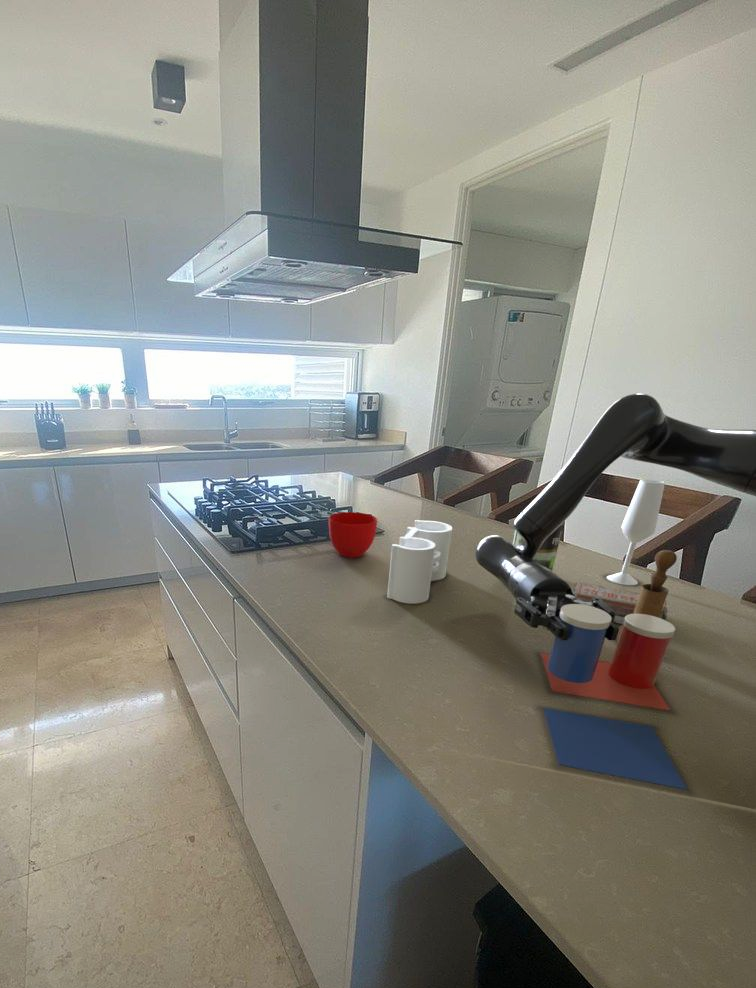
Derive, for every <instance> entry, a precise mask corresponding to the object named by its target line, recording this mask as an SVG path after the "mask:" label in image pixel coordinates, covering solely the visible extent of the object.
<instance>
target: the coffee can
mask: <svg viewBox="0 0 756 988" xmlns="http://www.w3.org/2000/svg"><path fill="white" fill-rule="evenodd" d="M564 526H565V521H564V522H563V523H562V524H561V525H560V526H559V527H558V528H557V529H556V530H555V531H554V532H553V533H552V534H551V535H550V536H549V537H548V538H547V539H546V540H545V541H544V542H543V544H542V545H541V547H540V549H539V550H538V552H537V553H536V555H535V556H534V558H533V560H535V561H536V562H537V563H539V564H540V565H542V566H544V567H546V568H548V569H549V570H550V571H552V572H553V570H554V565H555V563H556V557H557V553H558V550H559V544H560V541H561V537H562V534H563V533H562V532H563V528H564ZM520 540H521V536H520V534H519V533H518V532H517V531H516V530H515V529H514V534H513V539H512V544H513V545H515V546H516V547H517V546H518V545H519V543H520Z"/></svg>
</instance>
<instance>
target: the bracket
mask: <svg viewBox="0 0 756 988" xmlns="http://www.w3.org/2000/svg"><path fill="white" fill-rule="evenodd" d="M452 535H453V527H452V525H450V524H448V523H445V522H443V521H442V522H441V521H437V520H421V519H415V520H414V526H407V529H406V534H405V535H404V536H399V543H397V544H396V543H391V551H390V564H389V571H388V573H389V574H388V583H387V595H386V598H387V599H389V600H390V599H391V600H394V601H396V602H399V603H404V604H411V605H413V604H415V605H416V604H421V603H425V602H427V601H428V600H429V598H430V591H431V583H432V582H435V581H440V580H442V579H445V577H446V575H447V568H448V561H449V554H450V547H451V541H452V540H451V539H452Z"/></svg>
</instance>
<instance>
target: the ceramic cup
mask: <svg viewBox="0 0 756 988" xmlns="http://www.w3.org/2000/svg"><path fill="white" fill-rule="evenodd" d="M377 526H378V518H377V517H376V516H374V515H373V514H368V513H363V512H358V511H357V512H356V511H346V512H345V511H344V512H343V511H342V512H336V513H331V515H330V516H329V517H328V535H329V538H330V542H331V544H332V546H333V548H334V549H335V551H336V552H337V554H339V556H341V557H345V558H352V559H353V558H354V559H355V558H360V557H362V556H363V555H364V554H365V553H366V552H367V551H368V550H369V549H370V548H371V546H372V544H373V543H374V539H375V537H376V533H377Z"/></svg>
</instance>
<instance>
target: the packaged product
mask: <svg viewBox="0 0 756 988" xmlns="http://www.w3.org/2000/svg"><path fill="white" fill-rule="evenodd" d="M571 590H572V592H573V595H574V596H575V597H577V598H580V599H582V600H583V601H584V602H592V600H593V598H599V599H601V600H602V601H603V602H604V603H606V604H607V605H608V606H609V607H610V608H611V609H613V610H614V611H615V612H616V616H615V618H614V621H613V623H616V624H619V625H623V621H624V618H625V616H626V615H628V614H633V613H634V610H635V607H636V604H637V601H638V598H639V595H640V592H634V591H628V590H625V589H624V590H623V589H620V588H619V589H618V588H613V587H609V586H603V585H598V584H592V583H587V582H580V581H579V582H576V583H575V587H574V589H571ZM668 613H669V610H668V607H667V599H665V602H664V605H663V608H662V610H661V613H660V616H659V618H661V619H663V620H666V621H667V617H668Z"/></svg>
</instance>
